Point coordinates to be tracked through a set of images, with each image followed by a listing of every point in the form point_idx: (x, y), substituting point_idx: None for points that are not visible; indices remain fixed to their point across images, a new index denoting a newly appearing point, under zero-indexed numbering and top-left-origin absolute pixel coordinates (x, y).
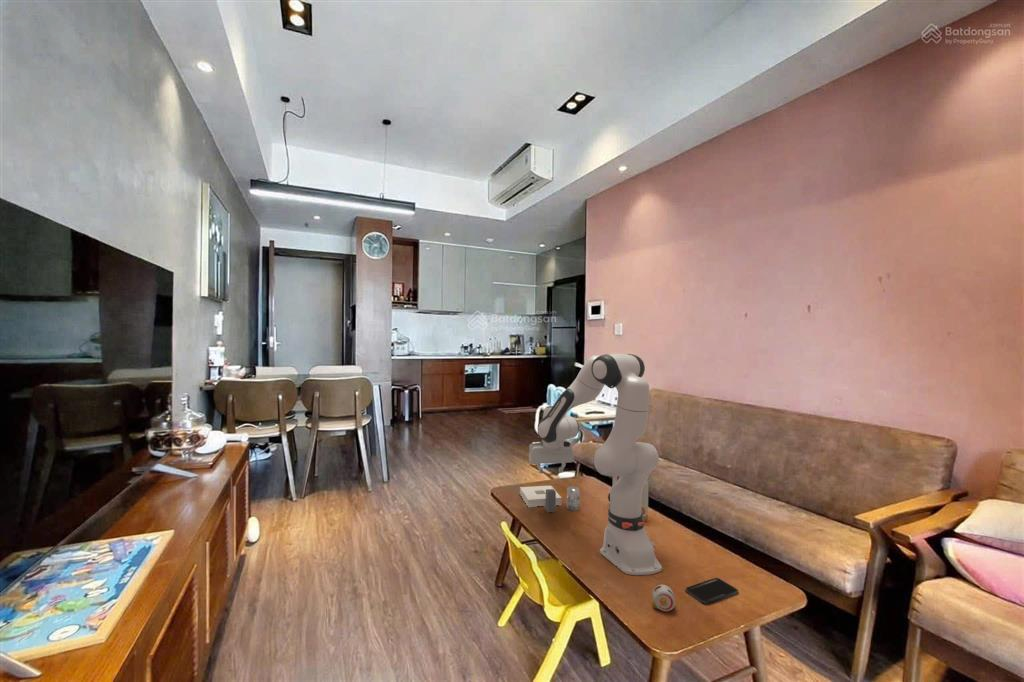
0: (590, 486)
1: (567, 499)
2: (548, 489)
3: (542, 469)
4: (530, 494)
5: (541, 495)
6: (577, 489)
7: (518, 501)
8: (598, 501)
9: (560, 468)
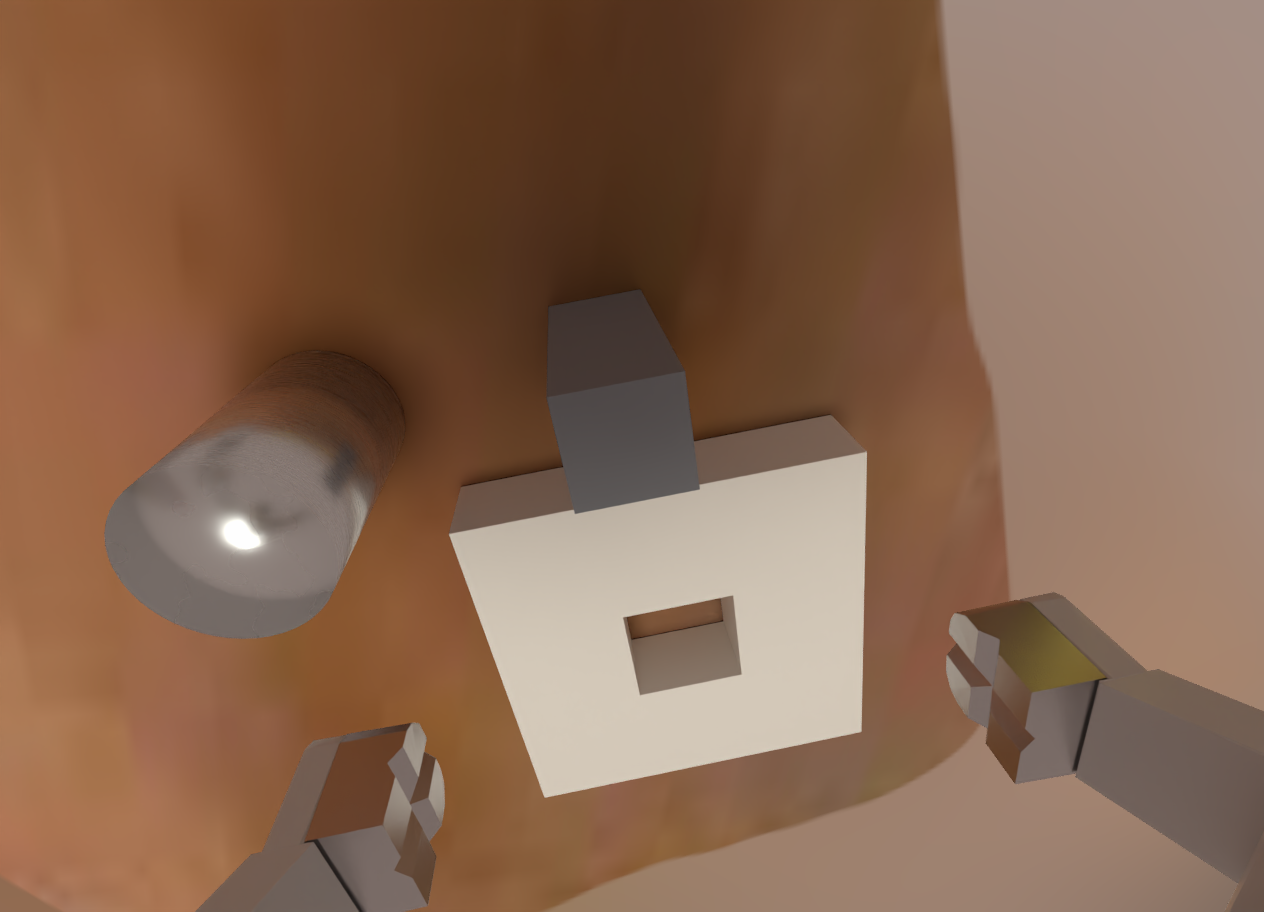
0: (163, 880)
1: (370, 449)
2: (657, 490)
3: (1041, 698)
4: (802, 588)
5: (685, 574)
6: (141, 526)
7: (884, 543)
8: (31, 607)
9: (368, 854)
